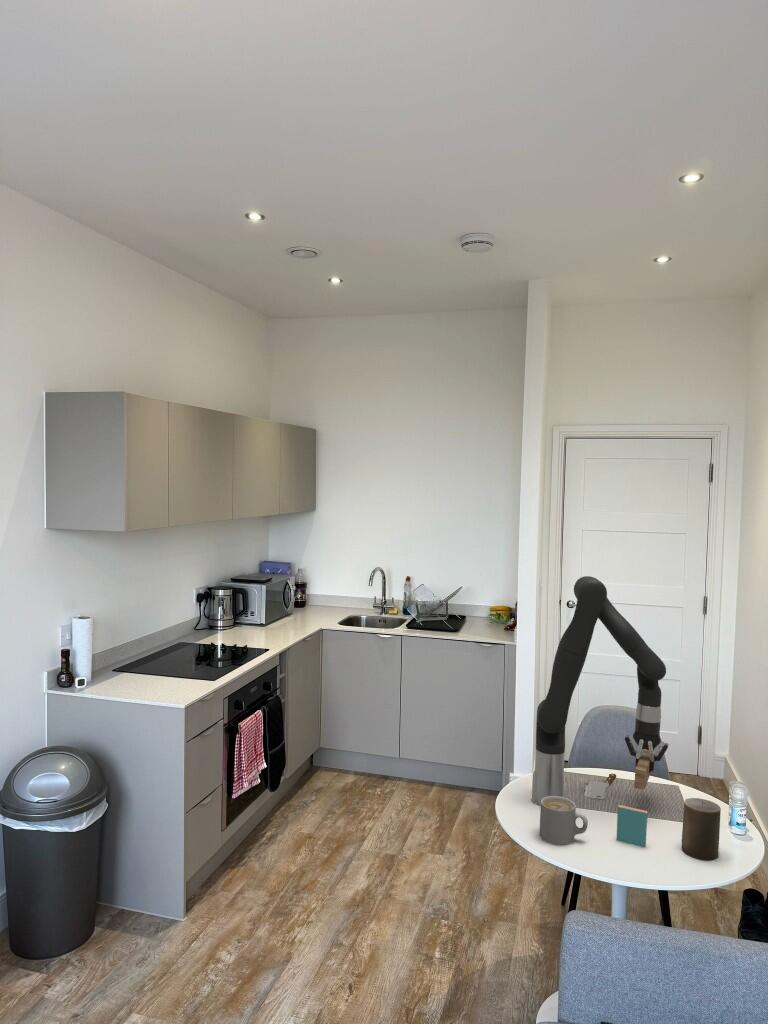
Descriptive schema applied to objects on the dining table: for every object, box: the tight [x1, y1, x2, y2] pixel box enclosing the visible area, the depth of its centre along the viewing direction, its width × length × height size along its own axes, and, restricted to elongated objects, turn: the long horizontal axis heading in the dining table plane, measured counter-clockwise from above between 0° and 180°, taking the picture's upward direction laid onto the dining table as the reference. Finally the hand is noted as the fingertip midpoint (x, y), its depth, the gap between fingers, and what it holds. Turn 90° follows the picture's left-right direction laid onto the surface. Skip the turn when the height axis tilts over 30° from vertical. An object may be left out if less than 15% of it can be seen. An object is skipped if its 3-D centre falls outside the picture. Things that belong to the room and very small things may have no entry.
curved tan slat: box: [633, 749, 652, 791], centre depth 231 cm, size 22×3×6 cm, turn 153°
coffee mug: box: [538, 796, 588, 846], centre depth 209 cm, size 13×10×10 cm
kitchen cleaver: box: [589, 773, 617, 802], centre depth 248 cm, size 24×1×10 cm
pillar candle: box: [681, 797, 722, 861], centre depth 204 cm, size 10×10×15 cm
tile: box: [615, 804, 648, 848], centre depth 208 cm, size 8×2×10 cm, turn 63°
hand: (644, 770), depth 231 cm, fingers closed on curved tan slat, 3 cm apart
